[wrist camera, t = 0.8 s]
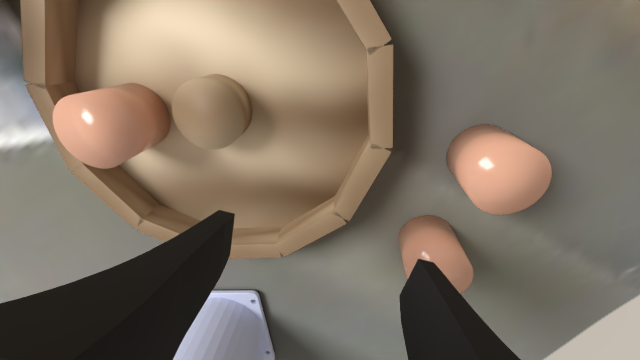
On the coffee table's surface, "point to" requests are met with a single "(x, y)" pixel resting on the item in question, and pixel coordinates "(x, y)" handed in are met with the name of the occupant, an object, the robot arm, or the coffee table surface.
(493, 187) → the bead
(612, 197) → the coffee table surface
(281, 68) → the ring tray
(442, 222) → the bead
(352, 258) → the coffee table surface
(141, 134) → the bead
